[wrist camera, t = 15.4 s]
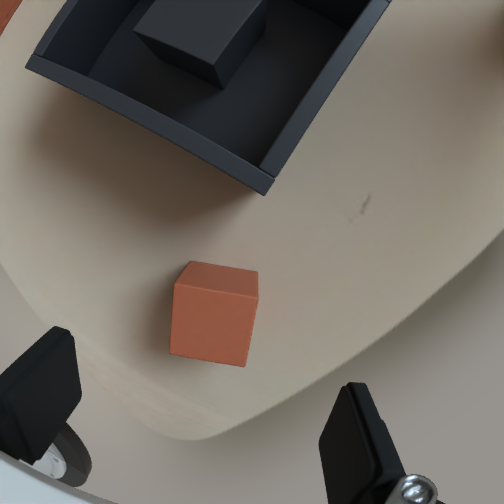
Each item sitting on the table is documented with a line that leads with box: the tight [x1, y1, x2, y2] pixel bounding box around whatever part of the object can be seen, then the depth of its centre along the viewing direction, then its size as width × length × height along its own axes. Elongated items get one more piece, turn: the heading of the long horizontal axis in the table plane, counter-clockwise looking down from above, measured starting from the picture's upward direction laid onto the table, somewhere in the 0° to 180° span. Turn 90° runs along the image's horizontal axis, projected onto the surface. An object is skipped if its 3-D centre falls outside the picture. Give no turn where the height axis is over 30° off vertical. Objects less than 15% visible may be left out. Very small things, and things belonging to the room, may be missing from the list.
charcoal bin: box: [25, 0, 392, 196], centre depth 13 cm, size 12×14×6 cm
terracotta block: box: [169, 261, 258, 367], centre depth 17 cm, size 4×4×4 cm
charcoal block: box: [133, 0, 267, 90], centre depth 13 cm, size 4×4×4 cm
